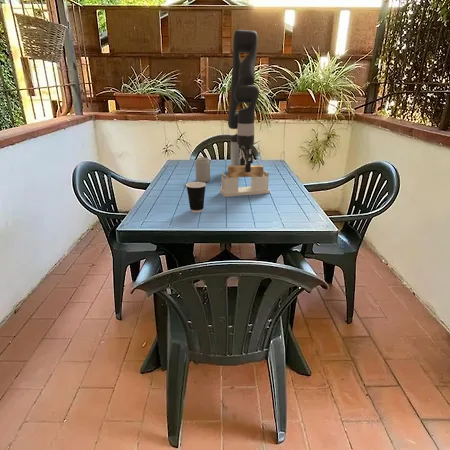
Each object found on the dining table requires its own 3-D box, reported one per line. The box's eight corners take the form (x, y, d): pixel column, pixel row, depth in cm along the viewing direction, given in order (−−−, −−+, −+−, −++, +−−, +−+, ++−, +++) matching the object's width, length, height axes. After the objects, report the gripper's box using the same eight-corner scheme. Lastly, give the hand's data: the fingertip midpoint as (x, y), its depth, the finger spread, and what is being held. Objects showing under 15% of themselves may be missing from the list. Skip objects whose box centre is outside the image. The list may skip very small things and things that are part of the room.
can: (193, 181, 182) (192, 158, 178) (200, 178, 188) (200, 156, 184) (205, 183, 179) (205, 160, 175) (212, 180, 185) (212, 157, 181)
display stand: (224, 196, 158) (223, 176, 154) (220, 191, 165) (219, 172, 161) (269, 193, 163) (270, 173, 159) (263, 188, 170) (264, 169, 166)
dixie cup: (187, 207, 144) (185, 181, 140) (206, 207, 145) (205, 181, 141) (187, 214, 137) (185, 187, 133) (207, 213, 138) (206, 186, 133)
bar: (228, 177, 159) (228, 167, 157) (227, 175, 162) (227, 165, 161) (263, 176, 159) (263, 166, 158) (261, 174, 163) (262, 165, 161)
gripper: (233, 132, 159) (233, 167, 165) (242, 136, 146) (241, 174, 152) (249, 131, 161) (248, 166, 167) (259, 135, 148) (257, 173, 154)
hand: (245, 169), depth 160 cm, fingers open, 8 cm apart
